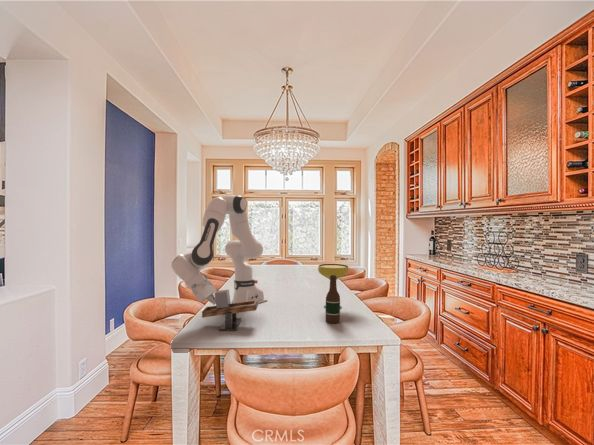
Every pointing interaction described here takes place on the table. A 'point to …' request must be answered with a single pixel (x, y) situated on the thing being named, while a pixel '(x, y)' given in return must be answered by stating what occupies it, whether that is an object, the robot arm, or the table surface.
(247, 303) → the balance beam
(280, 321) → the table surface
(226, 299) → the block
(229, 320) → the pivot stand
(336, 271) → the cocktail glass
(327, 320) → the beer bottle
